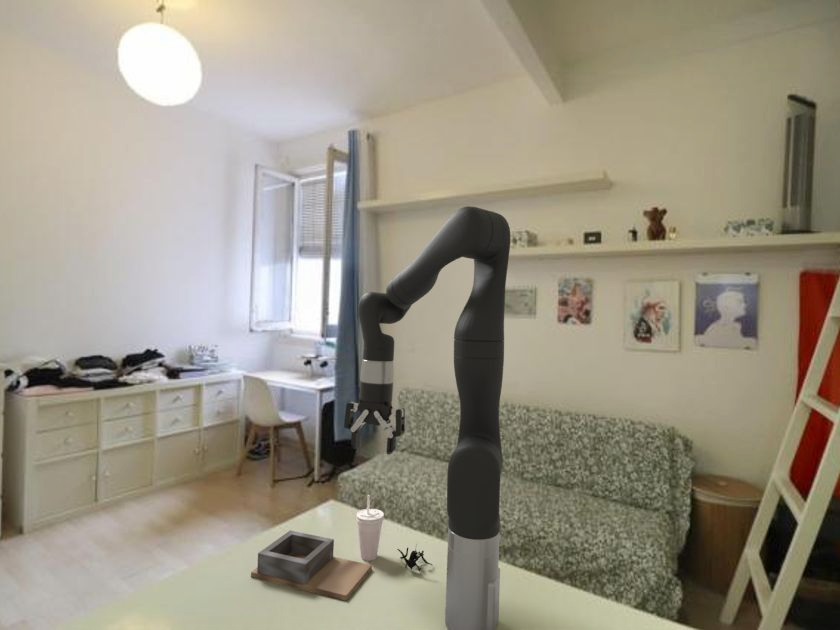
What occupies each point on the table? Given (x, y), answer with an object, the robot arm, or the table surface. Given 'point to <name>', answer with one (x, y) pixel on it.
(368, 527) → the smoothie
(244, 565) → the table surface
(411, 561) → the creature
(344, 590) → the board
